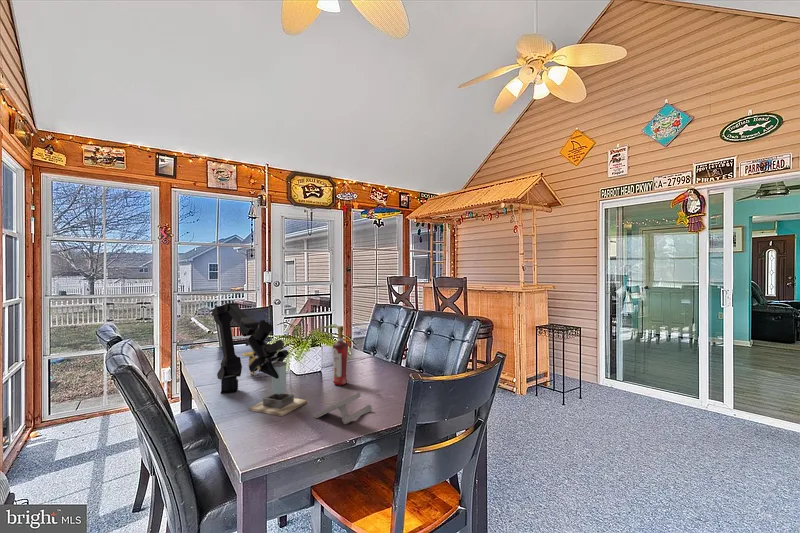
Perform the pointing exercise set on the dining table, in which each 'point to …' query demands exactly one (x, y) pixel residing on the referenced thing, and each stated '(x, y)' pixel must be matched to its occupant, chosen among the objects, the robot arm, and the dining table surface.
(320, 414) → the door handle
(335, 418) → the dining table surface
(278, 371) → the rail end post
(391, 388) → the dining table surface
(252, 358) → the wall sconce
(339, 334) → the liquor
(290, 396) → the post socket
